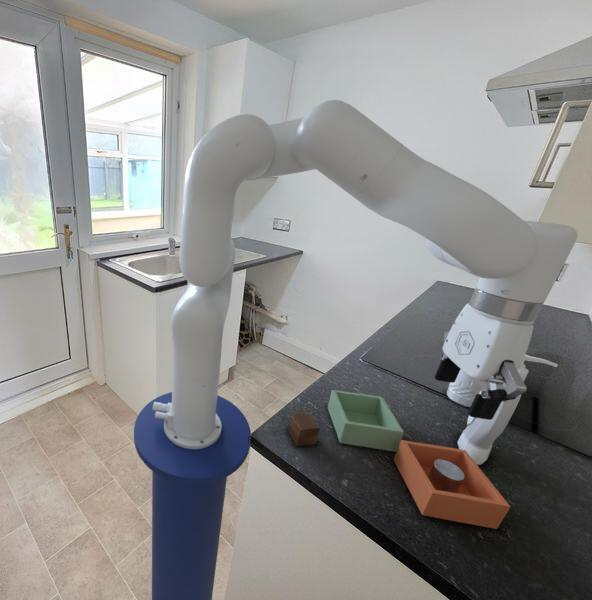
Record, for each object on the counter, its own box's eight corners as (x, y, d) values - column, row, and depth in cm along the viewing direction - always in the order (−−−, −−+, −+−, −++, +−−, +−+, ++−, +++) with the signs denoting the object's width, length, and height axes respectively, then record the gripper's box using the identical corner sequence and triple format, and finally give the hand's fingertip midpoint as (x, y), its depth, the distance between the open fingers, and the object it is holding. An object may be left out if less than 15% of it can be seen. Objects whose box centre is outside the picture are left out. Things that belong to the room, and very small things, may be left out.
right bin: (422, 515, 54) (432, 492, 52) (393, 460, 64) (401, 439, 62) (497, 529, 52) (510, 506, 50) (455, 470, 63) (464, 449, 61)
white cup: (449, 386, 90) (462, 357, 86) (484, 402, 84) (499, 371, 80) (439, 395, 86) (452, 364, 82) (475, 413, 80) (490, 380, 76)
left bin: (339, 442, 68) (345, 423, 66) (327, 407, 79) (332, 389, 77) (396, 452, 66) (404, 432, 64) (376, 414, 77) (382, 396, 75)
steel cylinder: (433, 497, 56) (442, 477, 55) (421, 476, 60) (429, 457, 59) (460, 502, 56) (470, 482, 54) (445, 480, 60) (455, 461, 58)
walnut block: (296, 446, 67) (300, 429, 65) (287, 430, 71) (290, 414, 69) (315, 444, 67) (320, 427, 66) (305, 428, 72) (309, 413, 70)
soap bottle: (505, 483, 60) (565, 378, 52) (455, 460, 65) (502, 360, 56) (501, 445, 70) (552, 351, 61) (458, 427, 74) (499, 337, 65)
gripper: (443, 285, 55) (412, 366, 62) (520, 326, 40) (468, 430, 46) (490, 290, 54) (454, 372, 61) (588, 334, 38) (525, 440, 45)
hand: (460, 397), depth 53 cm, fingers open, 9 cm apart
